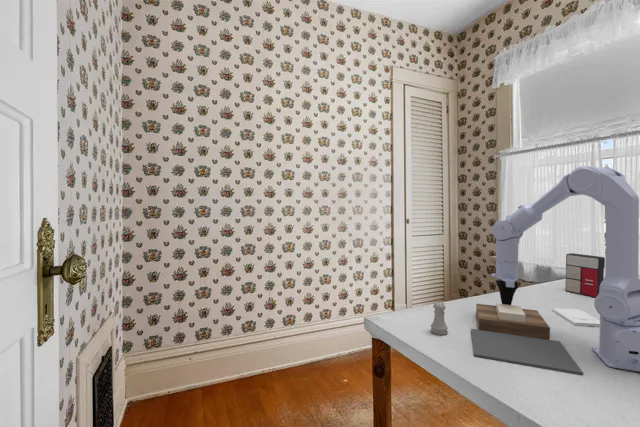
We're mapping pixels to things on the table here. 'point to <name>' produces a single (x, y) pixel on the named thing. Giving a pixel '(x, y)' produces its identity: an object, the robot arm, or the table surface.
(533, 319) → the walnut deck
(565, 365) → the rubber mat
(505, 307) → the ivory tile
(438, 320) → the rook chess piece
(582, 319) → the external hard drive
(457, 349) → the table surface
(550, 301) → the table surface
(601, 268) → the red and grey box
